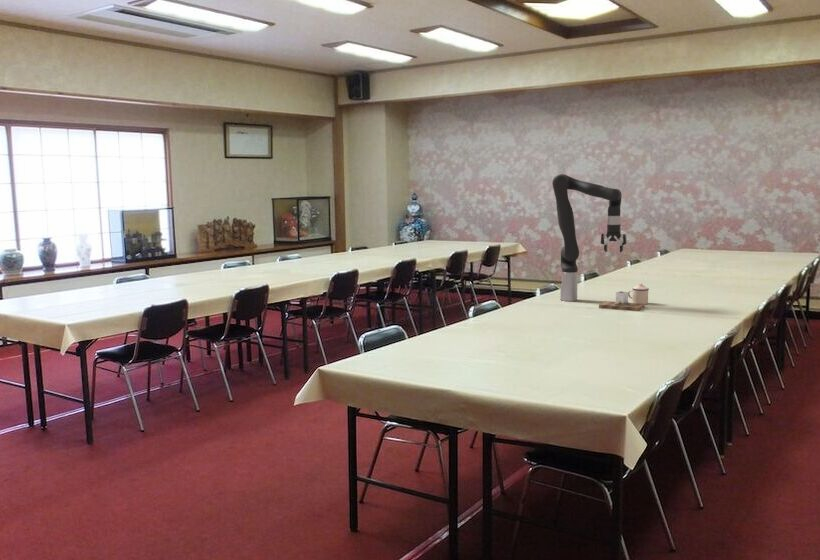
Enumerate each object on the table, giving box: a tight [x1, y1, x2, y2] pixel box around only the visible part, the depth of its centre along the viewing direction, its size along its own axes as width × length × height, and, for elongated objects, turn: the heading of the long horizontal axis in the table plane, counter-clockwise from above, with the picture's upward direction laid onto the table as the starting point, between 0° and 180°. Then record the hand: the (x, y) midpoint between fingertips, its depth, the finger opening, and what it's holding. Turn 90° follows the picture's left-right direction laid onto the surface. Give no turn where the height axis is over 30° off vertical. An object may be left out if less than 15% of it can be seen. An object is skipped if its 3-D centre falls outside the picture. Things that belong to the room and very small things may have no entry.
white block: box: [615, 290, 629, 304], centre depth 414 cm, size 8×5×6 cm, turn 133°
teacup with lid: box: [627, 282, 650, 305], centre depth 428 cm, size 12×9×12 cm
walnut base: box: [598, 301, 646, 312], centre depth 415 cm, size 22×13×3 cm, turn 59°
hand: (613, 251), depth 426 cm, fingers open, 8 cm apart
